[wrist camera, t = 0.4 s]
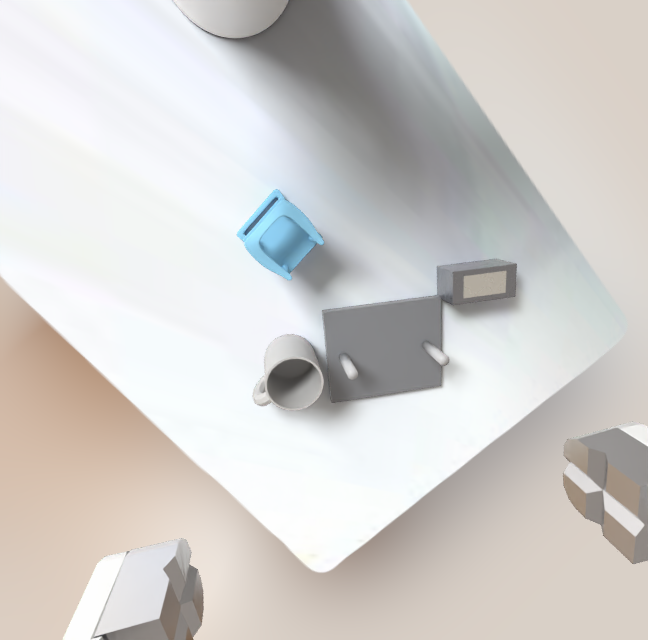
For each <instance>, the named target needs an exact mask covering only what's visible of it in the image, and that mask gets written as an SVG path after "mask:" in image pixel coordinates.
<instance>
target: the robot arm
mask: <svg viewBox="0 0 648 640" xmlns="http://www.w3.org/2000/svg"><path fill="white" fill-rule="evenodd" d="M173 1H174V2H175V4H176V5H177V6H178V8H179V9H180V10H181V11H182V12H183V13H184V14H185V15H186V16H187V17H188V18H189V19H190V20H191V21H192V22H193V23H195V24H196V25H197V26H199V27H200V28H202V29H204V30H206V31H208V32H210V33H212V34H215V35H218V36H222V37H227V38H244V37H249V36H253V35H255V34H258V33H260V32H262V31H264V30H265V29H267V28H268V27H269V26H271V25H272V24H273V23H274V22H275V21H276V20H277V19H278V18H279V16H280V15H281V14H282V12H283V11H284V9H285V7H286V5H287V4H288V1H289V0H173ZM564 456H565V457H566V459H567V460H568V461H569V462H570V463H569V464H568V466H567V467H566V469H565V471H564V472H563V481H564V488H565V490H566V493H567V495H568V498H569V500H570V501H571V503H572V504H573V505H574V507H575V508H576V509H577V510H578V511H579V512H580V513H581V514H582V515H583V516H584V517H585V518H586V519H589V520H591V521H593V522H596V523H598V524H600V525H601V526H602V532H603V536H604V537H605V538H606V539H607V540H609V542H610V543H611V544H613V545H614V546H615V547H616V548H617V549H618V550H619V551H620V552H621V553H622V554H623V555H624V556H625V557H626V558H627V559H628V560H629V561H630V562H631V563H632V564H636V563H639V562H643V561H647V560H648V427H647V426H645V425H643V424H641V423H637V422H629V423H625V424H622V425H618V426H614V427H611V428H609V429H604V430H601V431H597V432H593V433H589V434H585V435H582V436H578V437H574V438H570V439H567V441H566V443H565V445H564ZM190 558H191V550H190V547H189V545H188V542H187V540H186V539H182V538H181V539H176V540H172V541H168V542H163V543H159V544H155V545H150V546H146V547H142V548H137V549H133V550H131V551H127V552H123V553H118V554H114V555H109V556H105V557H104V558H103V559H102V560H101V561H99V562H98V564H97V566H96V568H95V570H94V572H93V574H92V576H91V579H90V581H89V583H88V585H87V587H86V589H85V592H84V594H83V596H82V598H81V600H80V603H79V605H78V607H77V609H76V611H75V613H74V615H73V618H72V620H71V622H70V624H69V626H68V628H67V631H66V633H65V635H64V637H63V639H62V640H193V637H194V635H195V634H196V632H197V631H198V629H199V628H200V626H201V625H202V617H203V588H202V582H201V578H200V575H199V572H198V569H196V568H194V567H193V566H191V565H189V563H190Z"/></svg>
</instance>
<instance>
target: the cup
mask: <svg viewBox="0 0 648 640" xmlns="http://www.w3.org/2000/svg"><path fill="white" fill-rule="evenodd" d="M264 372H265V375H264V376H263V377H262V378H261V379H260V380H259V381H258V383H257V384H256V386H255V388H254V390H253V399H254V402H255V404H257V405H260V406H266V405H268V404H270V403H271V402H272V403H273V404H274V405H276V406H277V407H279V408H281V409H284V410H290V411H294V410H301V409H304V408H307V407H308V406H310V405H312V404H313V403H314V402H315V401H316V400H317V399H318V398H319V396H320V394H321V393H322V389H323V384H324V379H323V375H322V372H321V369H320V366H319V363H318V361H317V358H316V355H315V352H314V349H313V348H312V346H311V344H310V343H309V342H308V341H307V340H306V339H305V338H303V337H301V336H298V335H294V334H287V335H283V336H280V337H278V338H276V339H274V340H273V341H272V342H271V343H270V344H269V346H268V348H267V349H266V352H265V356H264Z"/></svg>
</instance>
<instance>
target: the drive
mask: <svg viewBox="0 0 648 640" xmlns="http://www.w3.org/2000/svg"><path fill="white" fill-rule="evenodd" d="M516 269H517V264H516V263H512V262H507V261H503V260H499V259H491V260H483V261H475V262H467V263H459V264H451V265H443V266H437V295H438V296H440V297H441V299H442V300H444V301H446V302H448V303H450V304H452V305H457V304H464V303H471V302H478V301H486V300H493V299H500V298H508V297H515V288H516Z"/></svg>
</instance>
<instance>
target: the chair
mask: <svg viewBox="0 0 648 640" xmlns="http://www.w3.org/2000/svg"><path fill="white" fill-rule="evenodd" d="M276 197H277V198H278V200H277V201H276V202H275V203H274V205H273V206H272V207H271V208H270V209H269V210H268V211H267V213H266V214H265V215H264V216H263V217H262V218H261V219H260V221H259V222H258V223H257V224H256V225H255V226H254V227H253V228H252V230H251V231H250V232H249V233H248V234H247V235H245V234H244V233H245V231H246V230H247V228H248V227H249V226H250V225H251V224H252V223H253V222H254V221H255V220H256V218H257V217H258V216H259V215H260V214H261V213H262V212H263V211H264V210H265V208H266V207H267V206H268V205H269V204H270V203H271V202H272V201H273V200H274V199H275V198H276ZM237 236H238V237H239V238H240V239H242V240H243V241H244V242H245V247H246V249H247V250H248V252H249V253H250V254H251V255H252V256H253V257H254V258H255V259H256V260H257V261H258V262H259V263H260V264H261V265H263V266H264V267H266V268H267V269H269V270H271V271H272V272H274V273H276V274H278V275H280V276H282V277H284V278H285V279H287V280H291V279H292V277H291V275H290V272H291V271H292V270H293V269H294V268H295V267H296V266H297V265H298V263H299V262H300V261H301V260H302V259H303V258H304V257H305V256H306V255H307V254H308V252H309V251H310V250H311V249H312V248H313V247H314V246H315V245H316V244H317V243H318V244H320V245H323V244H324V241H323V239H322V236H321V235H320V234H319V233H318V232H317V231H316V229H315V228H314V226H313V225H312V223H311V222H310V220H309V219H308V218H307V217H306V216H305V215H304V213H303V212H301V211H300V210H299V209H298V208H297V207H296V206H295V205H293V204H292V203H290V202H289V201H287V200H285V198H284V197H283V195H282V194H281V192H280V191H279V190H277V189H276V190H274V191H273V192H272V193H271V194H270V195H269V197H268V198H267V199H266V200H265V201H264V202H263V203H262V205H261V206H260V207H259V208H258V209H257V210H256V212H255V213H254V214H253V215H252V216H251V217H250V218H249V220H248V221H247V222H246V223H245V224H244V225H243V226H242V228H241V229H240V230H239V231H238V232H237Z"/></svg>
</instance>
